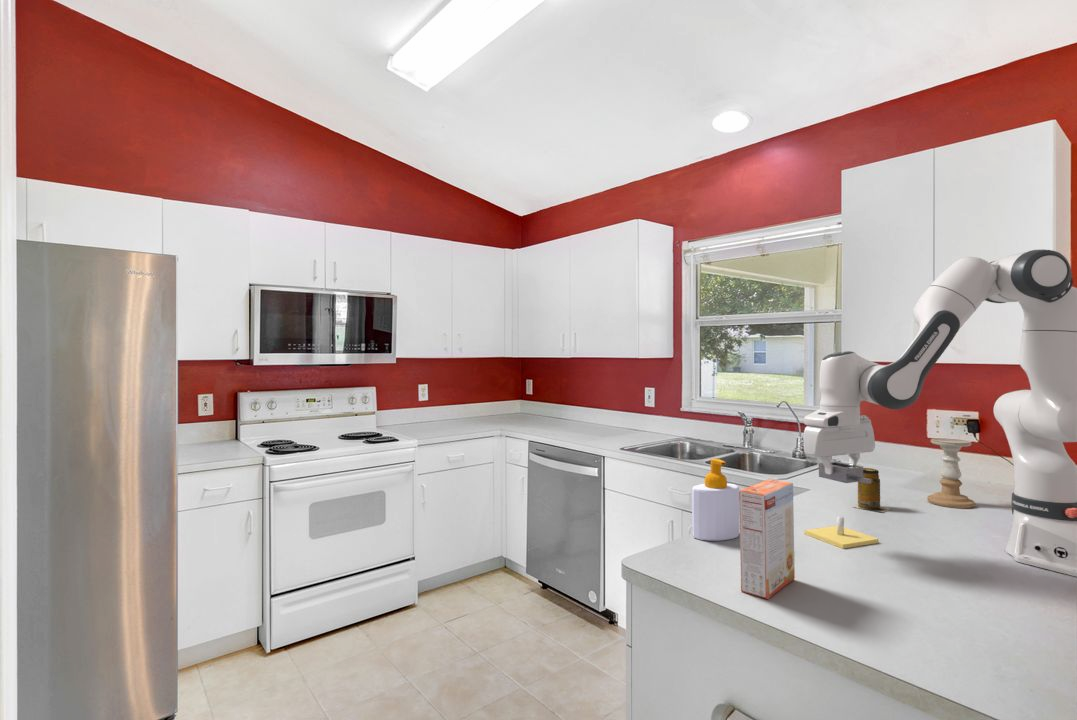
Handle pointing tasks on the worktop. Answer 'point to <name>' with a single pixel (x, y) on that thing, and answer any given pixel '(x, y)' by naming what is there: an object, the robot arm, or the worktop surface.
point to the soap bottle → (715, 507)
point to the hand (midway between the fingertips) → (840, 472)
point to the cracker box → (766, 537)
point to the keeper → (841, 535)
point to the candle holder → (950, 476)
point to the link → (844, 473)
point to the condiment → (870, 492)
